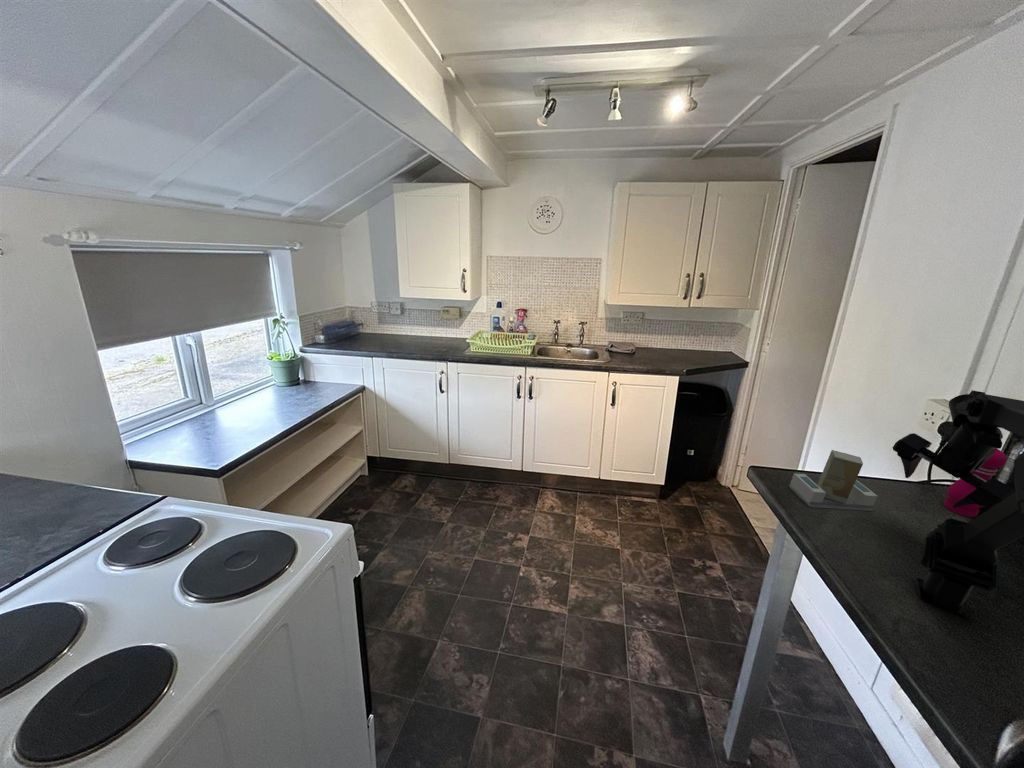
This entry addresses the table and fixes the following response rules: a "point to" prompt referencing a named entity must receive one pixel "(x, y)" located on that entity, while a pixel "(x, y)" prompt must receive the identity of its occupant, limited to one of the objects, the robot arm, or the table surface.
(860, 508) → the rail board
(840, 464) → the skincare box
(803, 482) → the mounted modules
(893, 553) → the table surface
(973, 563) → the robot arm
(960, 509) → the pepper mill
